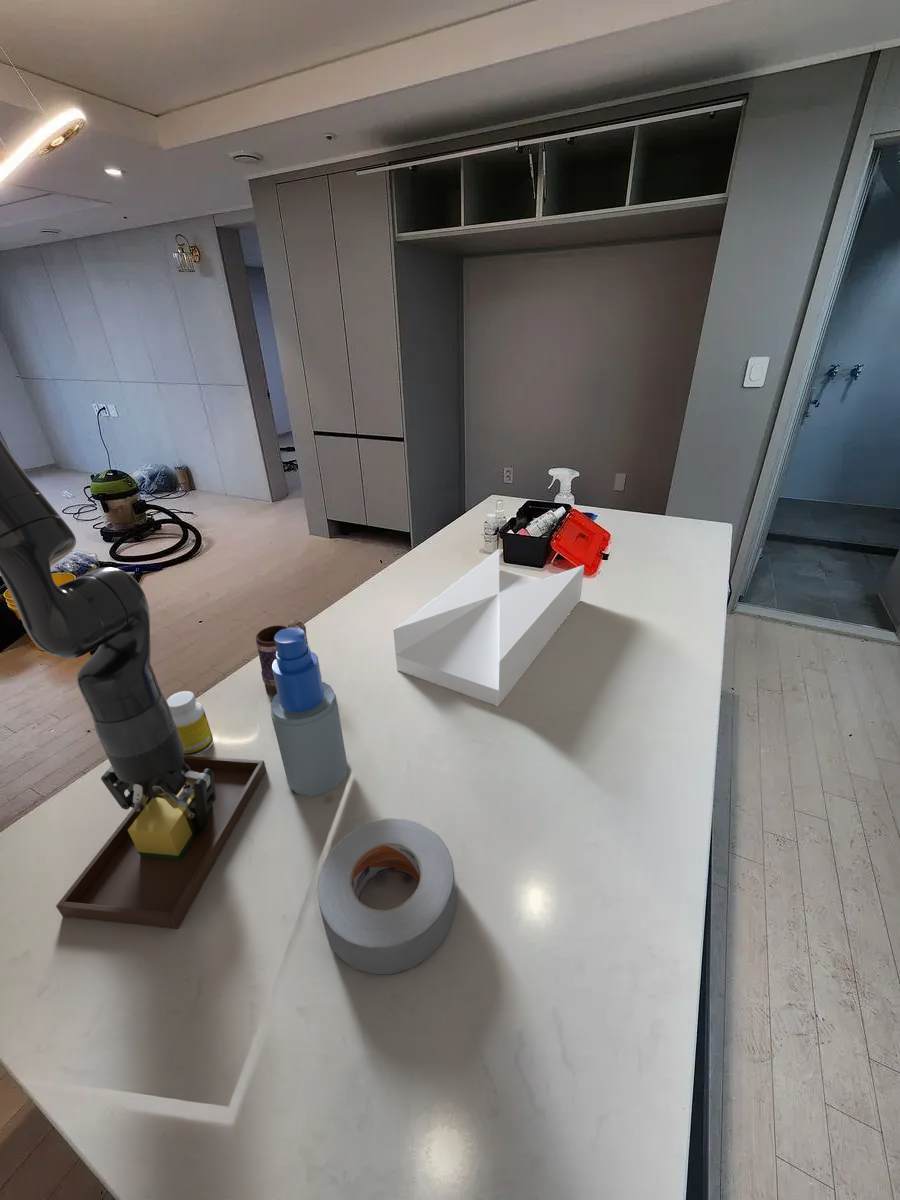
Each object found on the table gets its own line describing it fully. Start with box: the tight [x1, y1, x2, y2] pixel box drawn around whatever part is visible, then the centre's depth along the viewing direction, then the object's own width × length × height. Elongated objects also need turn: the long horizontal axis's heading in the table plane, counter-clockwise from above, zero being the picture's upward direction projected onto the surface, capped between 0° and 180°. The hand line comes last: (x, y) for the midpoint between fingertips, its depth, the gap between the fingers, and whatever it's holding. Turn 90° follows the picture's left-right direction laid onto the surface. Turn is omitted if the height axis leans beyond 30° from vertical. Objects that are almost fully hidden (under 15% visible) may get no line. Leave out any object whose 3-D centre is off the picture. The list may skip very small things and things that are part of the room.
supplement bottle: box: [166, 690, 214, 756], centre depth 80 cm, size 5×5×10 cm
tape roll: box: [317, 817, 457, 975], centre depth 58 cm, size 15×15×5 cm
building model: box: [392, 548, 585, 707], centre depth 109 cm, size 45×22×10 cm, turn 149°
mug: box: [255, 618, 309, 697], centre depth 95 cm, size 10×7×12 cm
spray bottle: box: [270, 627, 349, 797], centre depth 71 cm, size 9×9×25 cm
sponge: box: [128, 788, 213, 860], centre depth 67 cm, size 6×8×5 cm
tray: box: [55, 755, 267, 930], centre depth 67 cm, size 14×23×3 cm, turn 174°
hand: (178, 827), depth 68 cm, fingers closed on sponge, 5 cm apart
